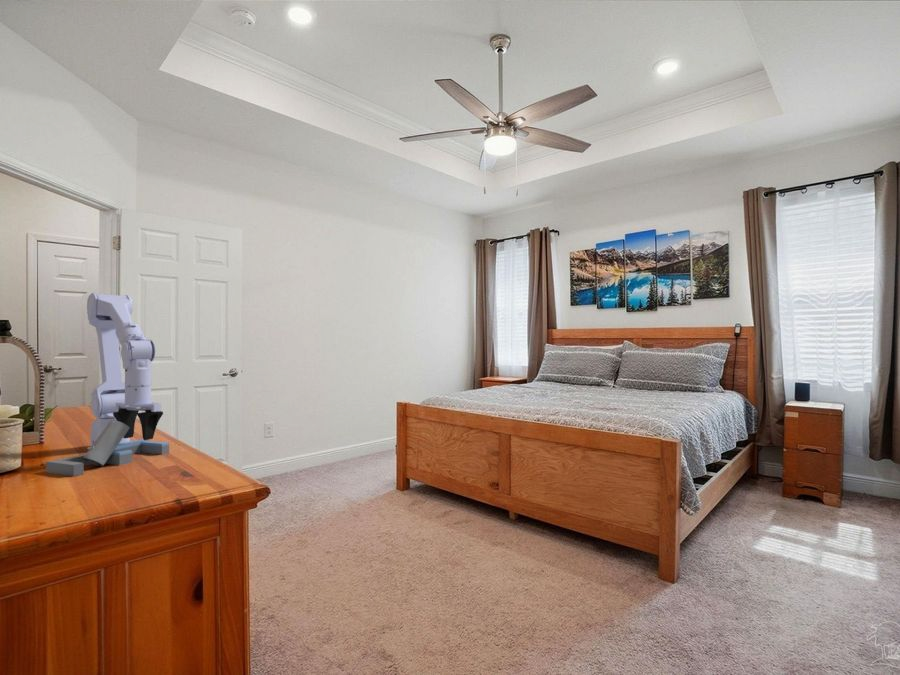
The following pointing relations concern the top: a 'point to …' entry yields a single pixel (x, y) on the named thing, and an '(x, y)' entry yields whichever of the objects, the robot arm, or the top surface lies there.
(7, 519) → the top surface
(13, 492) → the top surface
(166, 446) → the grey flat angled piece
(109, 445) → the grey cylinder
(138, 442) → the blue u-shaped bracket
